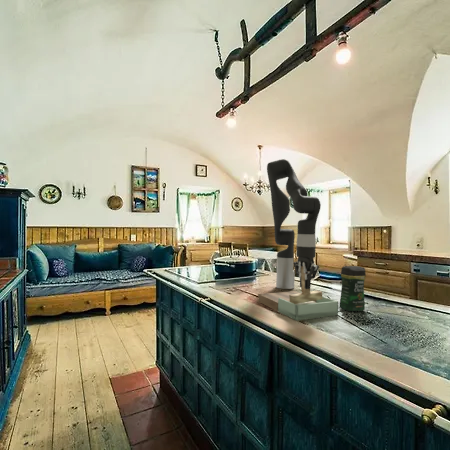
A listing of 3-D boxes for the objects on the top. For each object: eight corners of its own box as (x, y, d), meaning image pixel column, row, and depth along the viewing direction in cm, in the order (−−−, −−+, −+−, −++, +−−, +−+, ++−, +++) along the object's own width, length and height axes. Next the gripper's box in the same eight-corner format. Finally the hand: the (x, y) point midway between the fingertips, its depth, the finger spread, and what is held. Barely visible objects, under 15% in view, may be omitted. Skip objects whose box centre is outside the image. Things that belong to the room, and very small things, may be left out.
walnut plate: (294, 298, 142) (294, 291, 142) (316, 307, 128) (317, 299, 128) (258, 301, 135) (258, 294, 135) (277, 311, 120) (277, 302, 120)
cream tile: (310, 303, 126) (310, 300, 126) (318, 306, 121) (318, 303, 121) (300, 304, 124) (300, 301, 124) (308, 307, 119) (308, 304, 119)
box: (317, 307, 127) (317, 294, 127) (338, 315, 116) (338, 301, 116) (278, 311, 120) (278, 298, 120) (296, 320, 109) (296, 305, 109)
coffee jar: (349, 313, 120) (350, 267, 120) (336, 307, 127) (337, 265, 127) (368, 311, 123) (369, 267, 123) (354, 306, 130) (355, 264, 130)
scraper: (317, 297, 124) (316, 264, 124) (322, 299, 121) (321, 265, 121) (289, 302, 119) (288, 267, 118) (294, 304, 116) (293, 268, 116)
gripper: (325, 246, 115) (324, 291, 115) (302, 244, 128) (301, 284, 128) (309, 246, 112) (308, 292, 112) (288, 244, 125) (287, 285, 125)
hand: (304, 287), depth 120 cm, fingers closed on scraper, 2 cm apart
